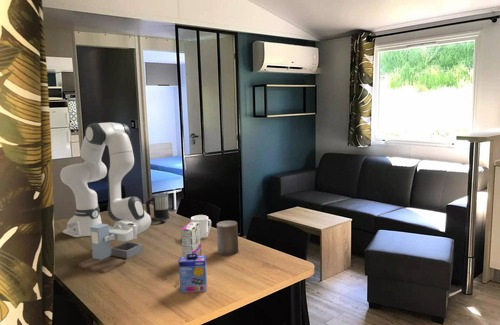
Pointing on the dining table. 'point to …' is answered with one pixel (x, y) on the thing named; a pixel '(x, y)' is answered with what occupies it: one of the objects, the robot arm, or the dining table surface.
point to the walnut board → (102, 264)
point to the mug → (202, 224)
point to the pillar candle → (227, 237)
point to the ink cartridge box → (192, 273)
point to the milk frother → (159, 207)
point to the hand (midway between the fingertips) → (98, 238)
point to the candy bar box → (191, 239)
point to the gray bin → (124, 252)
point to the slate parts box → (100, 241)
